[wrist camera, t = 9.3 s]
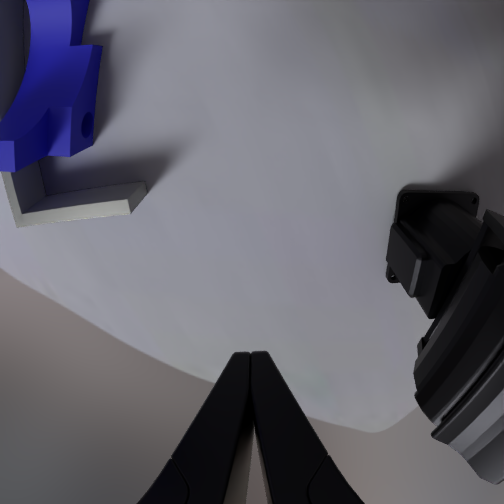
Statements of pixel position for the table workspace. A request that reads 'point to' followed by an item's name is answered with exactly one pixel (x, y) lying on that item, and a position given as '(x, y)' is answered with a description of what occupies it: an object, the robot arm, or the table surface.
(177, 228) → the table surface
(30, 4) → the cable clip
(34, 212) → the grey u-shaped bracket
